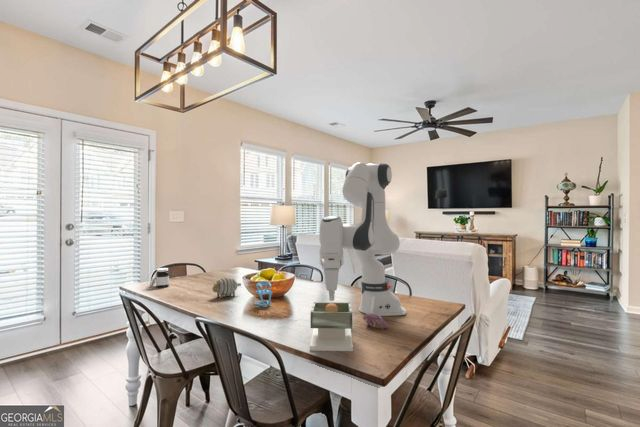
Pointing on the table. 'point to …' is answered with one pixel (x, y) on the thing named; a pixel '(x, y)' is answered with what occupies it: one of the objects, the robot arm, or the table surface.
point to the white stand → (331, 340)
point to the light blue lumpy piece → (263, 293)
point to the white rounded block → (160, 278)
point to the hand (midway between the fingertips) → (332, 296)
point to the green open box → (331, 316)
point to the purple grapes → (375, 320)
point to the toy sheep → (225, 286)
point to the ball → (331, 308)
